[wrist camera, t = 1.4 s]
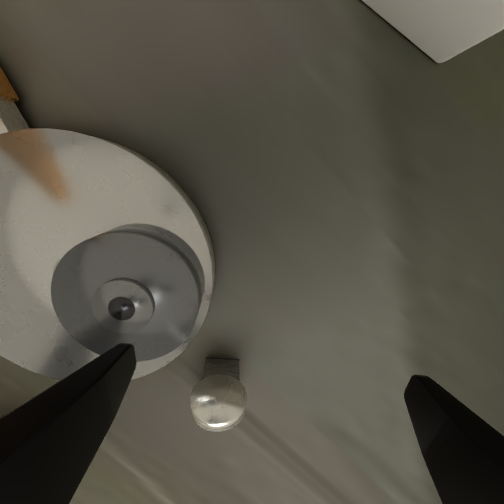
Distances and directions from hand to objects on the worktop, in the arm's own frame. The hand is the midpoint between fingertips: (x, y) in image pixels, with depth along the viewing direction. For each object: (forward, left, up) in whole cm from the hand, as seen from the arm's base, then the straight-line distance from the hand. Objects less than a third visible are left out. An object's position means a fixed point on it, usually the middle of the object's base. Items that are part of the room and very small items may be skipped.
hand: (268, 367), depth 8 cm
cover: (-2, +7, -9) cm, 12 cm away
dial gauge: (-12, +2, -12) cm, 17 cm away
